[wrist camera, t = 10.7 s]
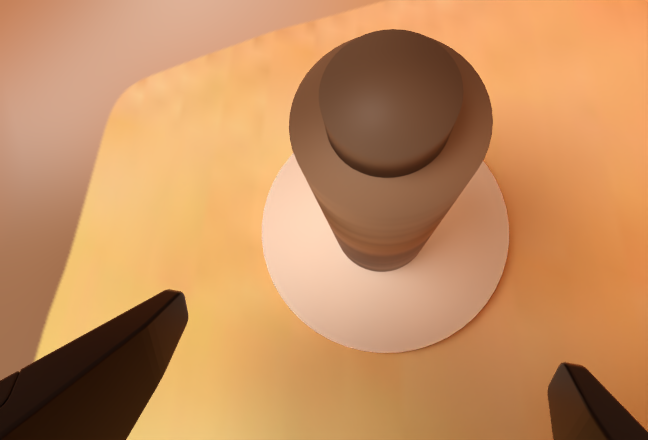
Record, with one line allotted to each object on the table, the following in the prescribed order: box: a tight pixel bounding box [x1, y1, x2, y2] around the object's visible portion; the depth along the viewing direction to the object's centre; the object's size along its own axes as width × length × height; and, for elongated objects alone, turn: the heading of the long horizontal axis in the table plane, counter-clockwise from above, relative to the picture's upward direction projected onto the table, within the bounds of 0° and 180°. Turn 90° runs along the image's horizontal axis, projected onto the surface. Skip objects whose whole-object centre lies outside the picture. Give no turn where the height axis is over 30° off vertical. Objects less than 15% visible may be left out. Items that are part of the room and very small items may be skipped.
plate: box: [262, 153, 509, 353], centre depth 22 cm, size 13×13×1 cm
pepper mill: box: [289, 29, 493, 272], centre depth 15 cm, size 5×5×13 cm
